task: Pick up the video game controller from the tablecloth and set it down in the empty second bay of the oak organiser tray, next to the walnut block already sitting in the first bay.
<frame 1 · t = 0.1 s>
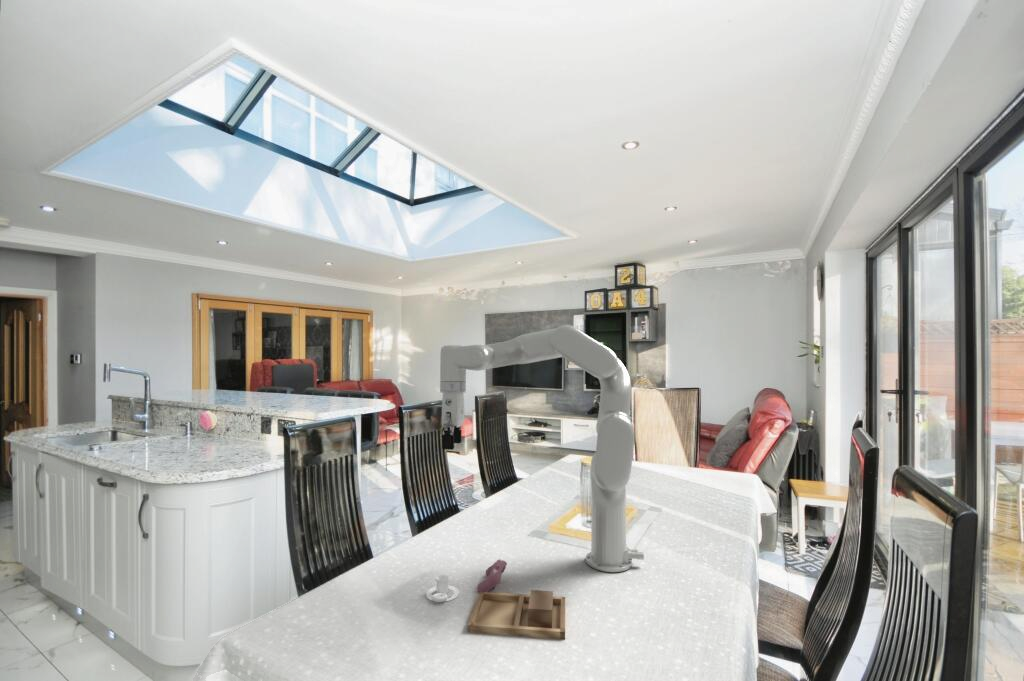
hand: (452, 446, 137), 31 cm above the table, tool pointing down, fingers open, 9 cm apart
video game controller: (492, 586, 117), on the table
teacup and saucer: (430, 598, 112), on the table
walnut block: (540, 618, 102), resting on oak organiser tray
oak organiser tray: (519, 618, 102), on the table
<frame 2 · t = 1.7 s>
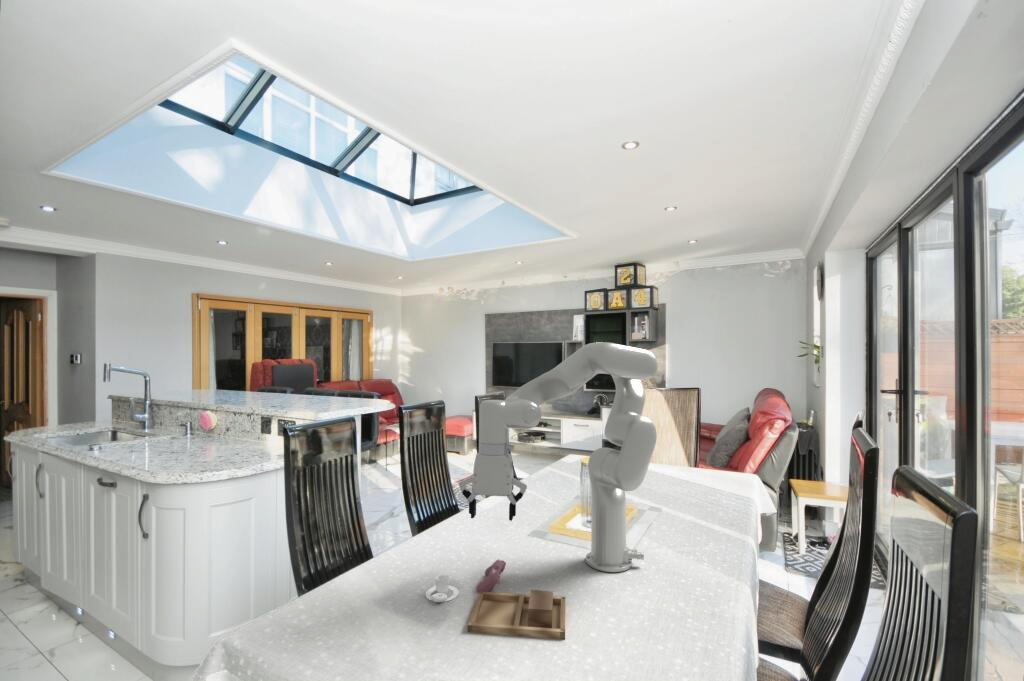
hand: (492, 517, 118), 17 cm above the table, tool pointing down, fingers open, 9 cm apart
nothing on the table moved.
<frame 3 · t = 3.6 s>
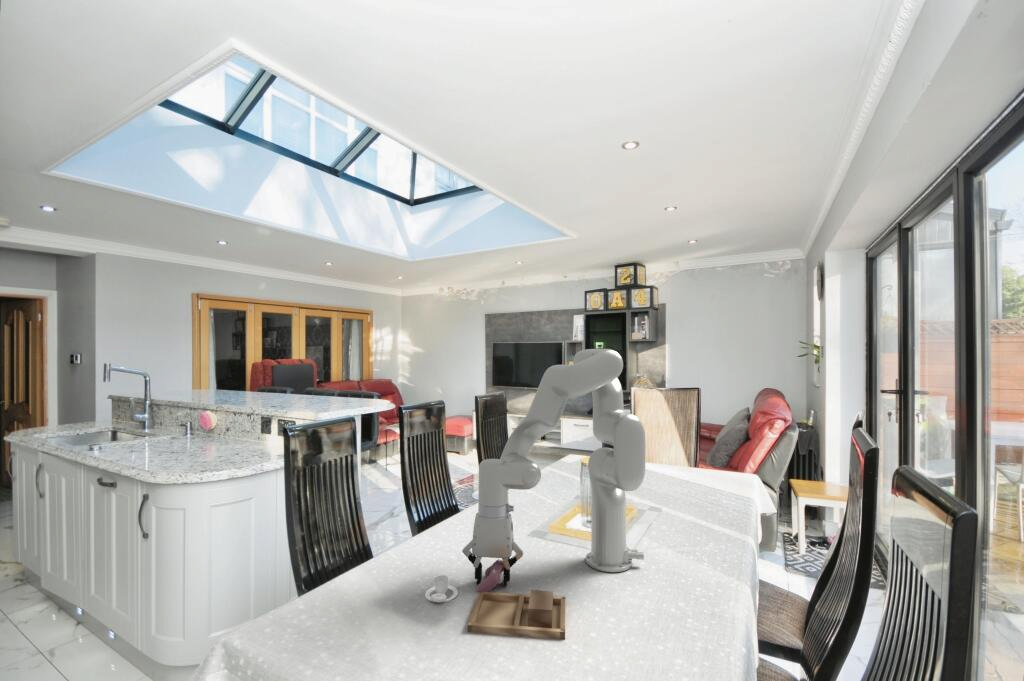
hand: (492, 582, 117), 1 cm above the table, tool pointing down, fingers closed on video game controller, 6 cm apart
video game controller: (492, 586, 117), on the table, touching gripper
everything else where it was.
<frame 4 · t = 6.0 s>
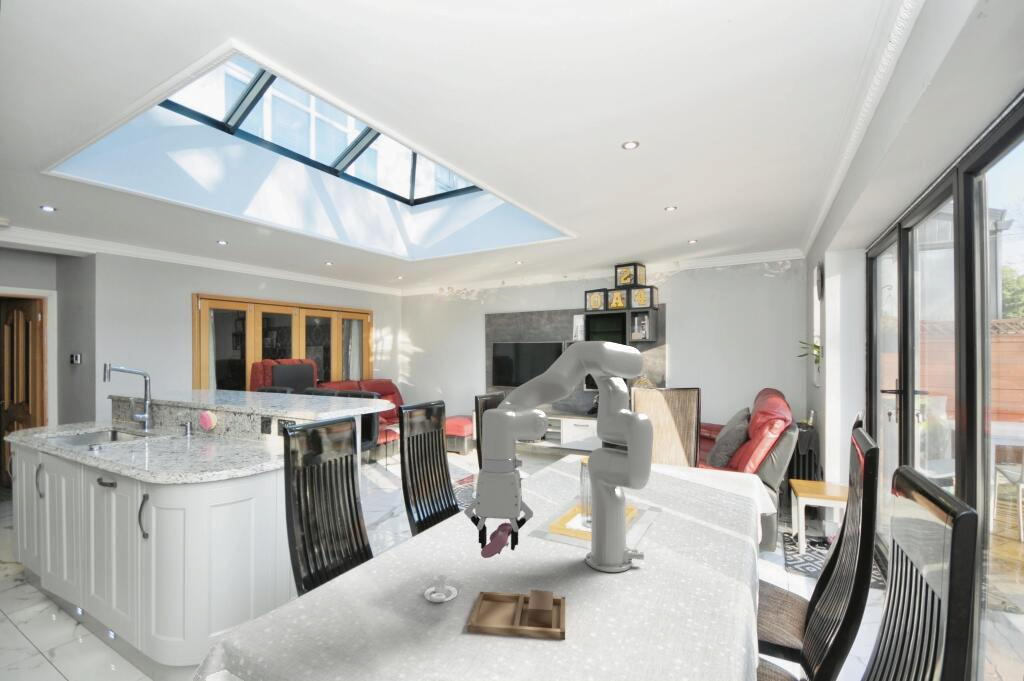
hand: (498, 546, 103), 15 cm above the table, tool pointing down, fingers closed on video game controller, 6 cm apart
video game controller: (498, 551, 103), point 14 cm above the table, touching gripper
everything else where it was.
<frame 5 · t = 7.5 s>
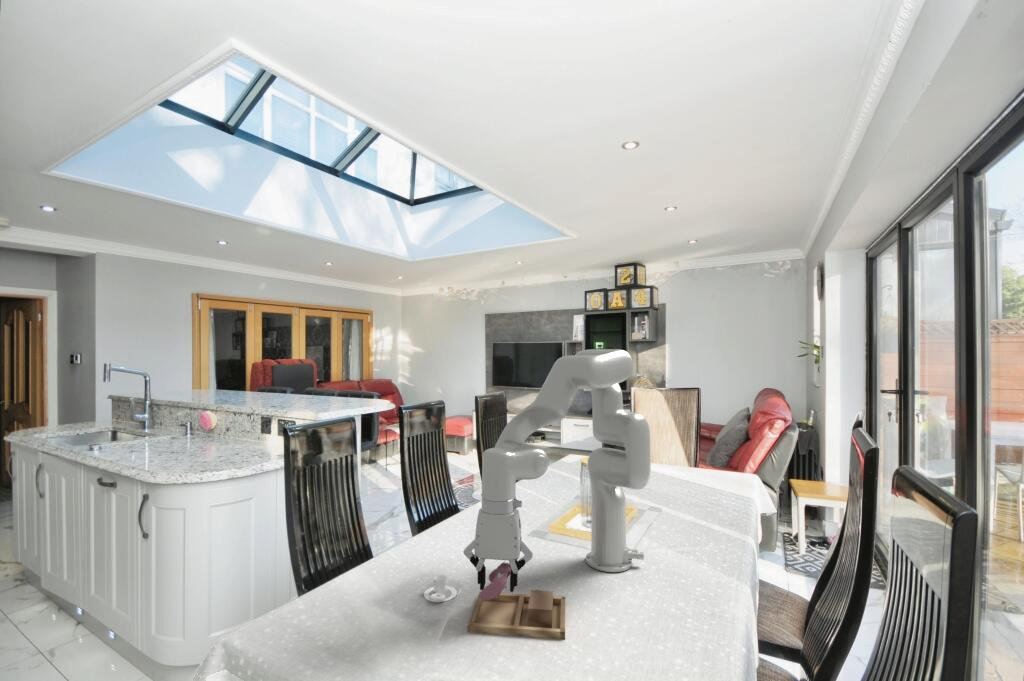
hand: (497, 587, 103), 6 cm above the table, tool pointing down, fingers closed on video game controller, 6 cm apart
video game controller: (497, 592, 103), point 5 cm above the table, touching gripper
everything else where it was.
when the fingers open (2 cm above the table, at t = 8.8 s): video game controller drops 1 cm, resting on oak organiser tray.
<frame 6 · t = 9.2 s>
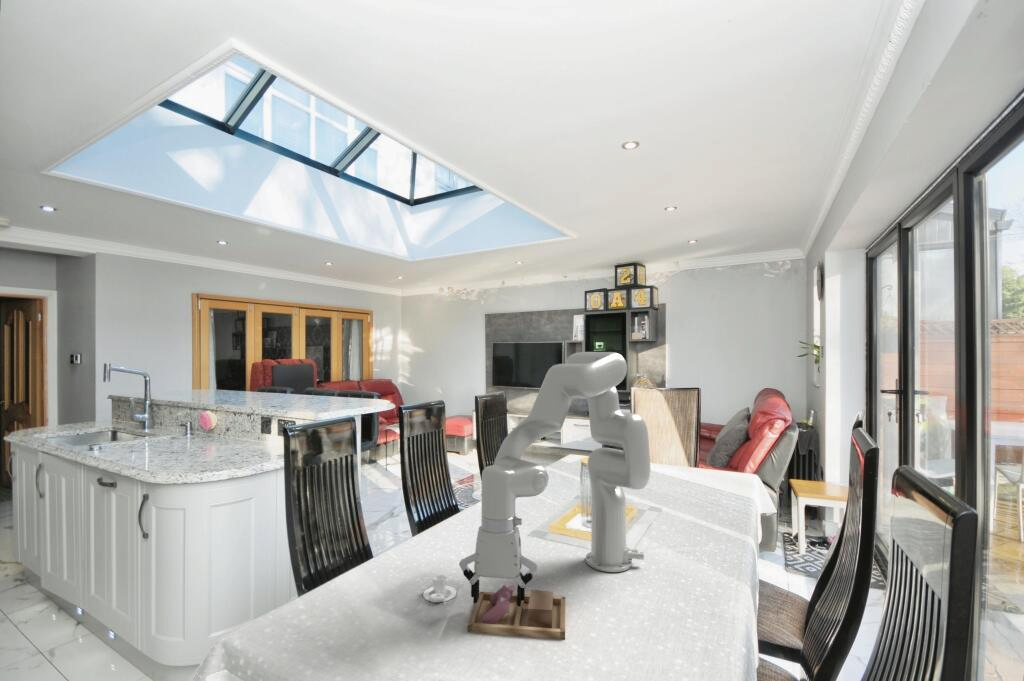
hand: (497, 601, 103), 3 cm above the table, tool pointing down, fingers open, 9 cm apart
video game controller: (499, 616, 103), resting on oak organiser tray
everything else where it was.
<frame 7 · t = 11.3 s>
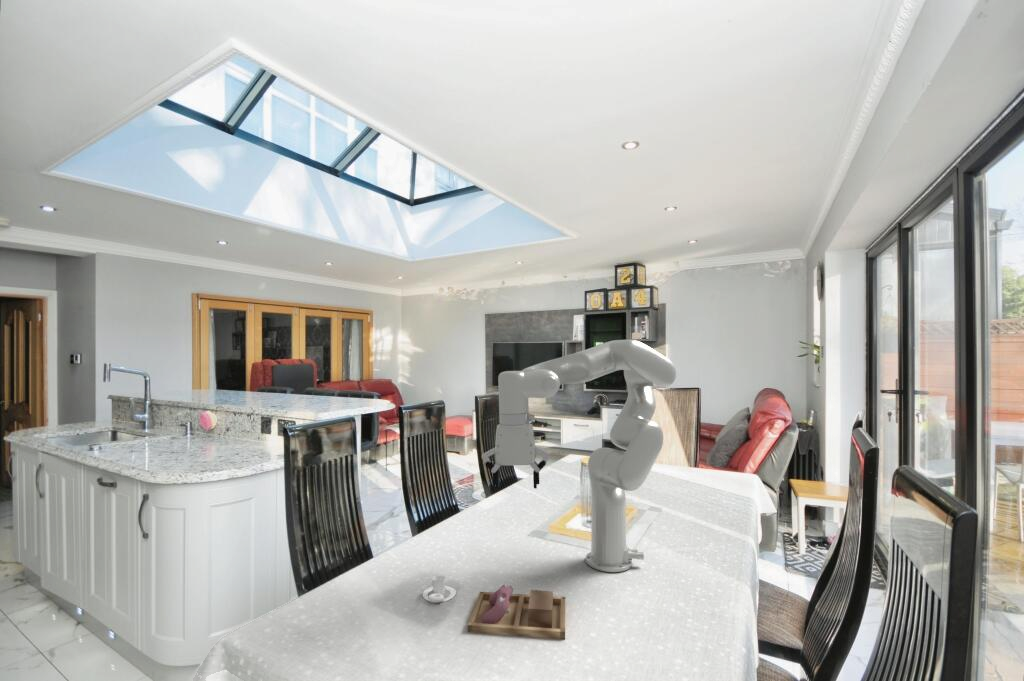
hand: (516, 487, 119), 24 cm above the table, tool pointing down, fingers open, 9 cm apart
nothing on the table moved.
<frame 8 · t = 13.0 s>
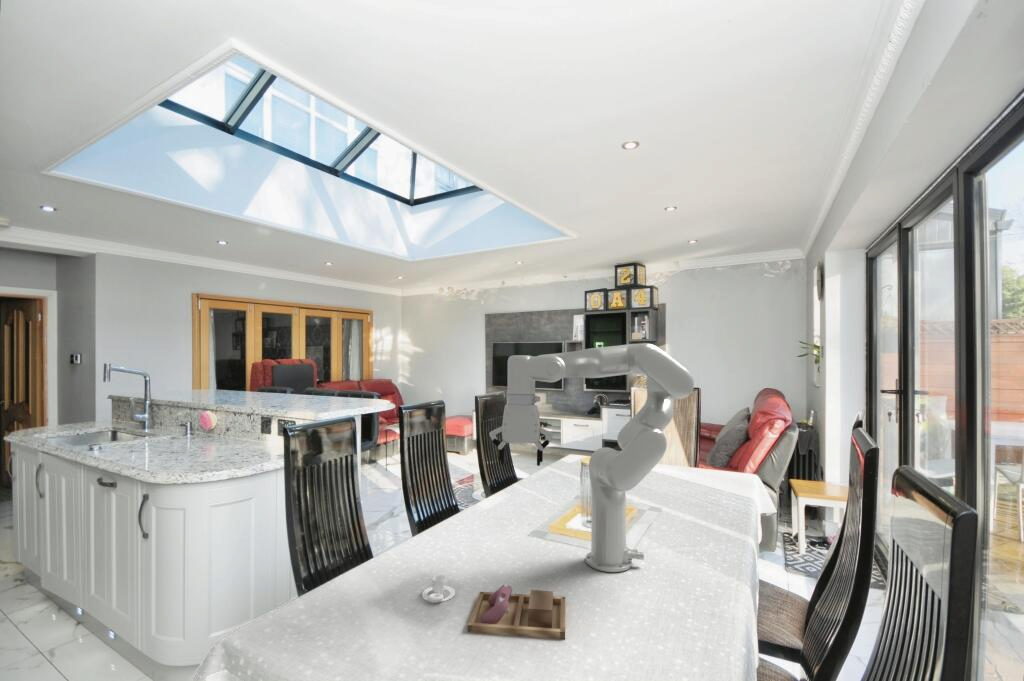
hand: (520, 464, 126), 28 cm above the table, tool pointing down, fingers open, 9 cm apart
nothing on the table moved.
at the end: video game controller inside the target area on the oak organiser tray (0.3 cm from its centre), point 0.2 cm above the oak organiser tray's base; the gripper is holding nothing; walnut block moved 0.0 cm from its start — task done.
